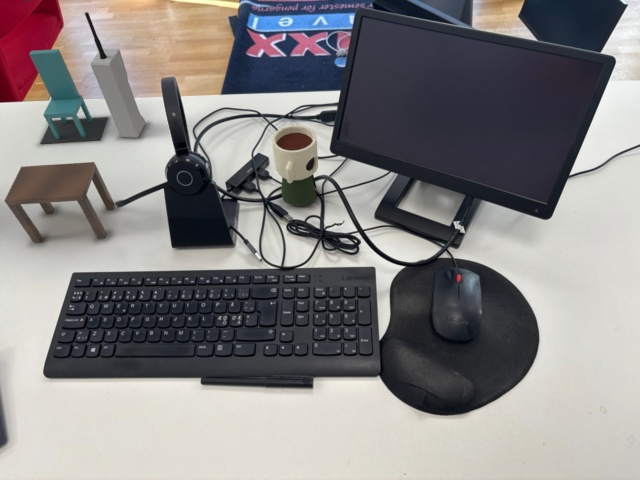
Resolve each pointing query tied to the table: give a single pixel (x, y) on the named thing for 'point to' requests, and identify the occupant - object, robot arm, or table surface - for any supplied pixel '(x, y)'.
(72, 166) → the desk
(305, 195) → the character mug
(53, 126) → the chair
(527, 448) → the table surface
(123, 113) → the vintage mobile phone
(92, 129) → the mat
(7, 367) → the table surface
